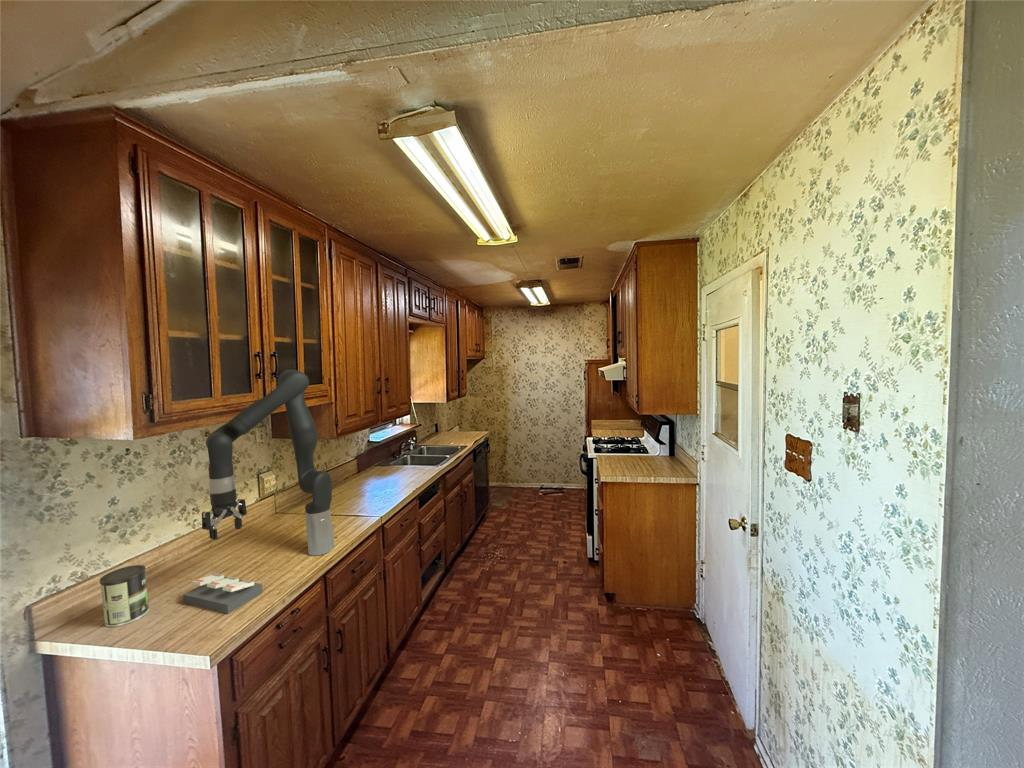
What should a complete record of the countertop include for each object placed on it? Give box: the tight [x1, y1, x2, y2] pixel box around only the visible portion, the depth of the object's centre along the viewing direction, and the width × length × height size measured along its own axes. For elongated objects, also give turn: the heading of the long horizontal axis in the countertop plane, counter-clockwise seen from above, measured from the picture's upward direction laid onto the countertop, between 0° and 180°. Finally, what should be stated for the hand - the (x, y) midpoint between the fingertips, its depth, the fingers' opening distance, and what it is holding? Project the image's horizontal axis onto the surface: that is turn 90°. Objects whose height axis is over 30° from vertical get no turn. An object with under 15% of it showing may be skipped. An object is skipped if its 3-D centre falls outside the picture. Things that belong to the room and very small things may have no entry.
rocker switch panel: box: [182, 576, 263, 615], centre depth 136 cm, size 12×20×3 cm, turn 71°
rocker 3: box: [222, 580, 255, 592], centre depth 134 cm, size 8×5×1 cm, turn 161°
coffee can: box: [99, 564, 150, 628], centre depth 127 cm, size 10×10×14 cm
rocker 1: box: [191, 573, 225, 587], centre depth 138 cm, size 8×5×1 cm, turn 161°
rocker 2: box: [207, 577, 240, 589], centre depth 136 cm, size 8×5×1 cm, turn 161°
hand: (226, 533), depth 144 cm, fingers open, 8 cm apart
